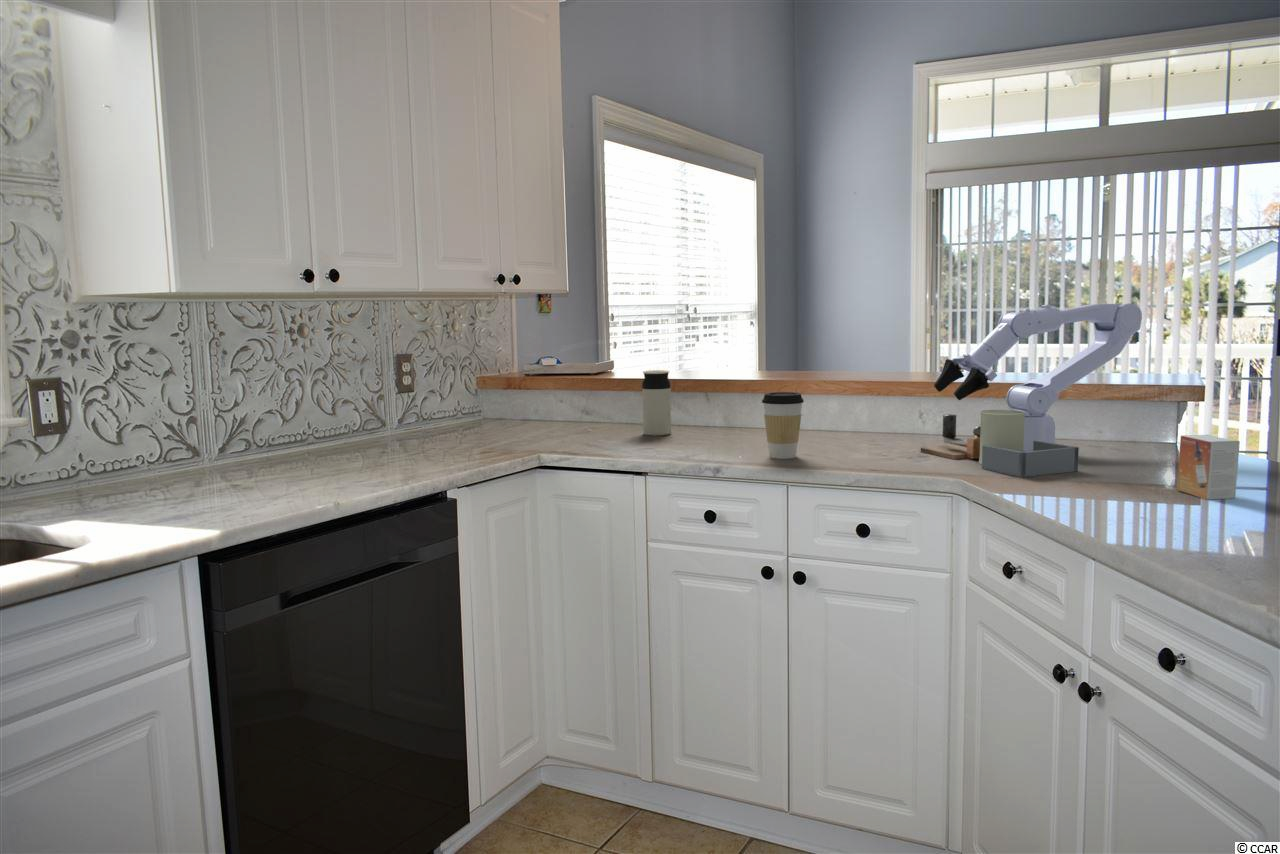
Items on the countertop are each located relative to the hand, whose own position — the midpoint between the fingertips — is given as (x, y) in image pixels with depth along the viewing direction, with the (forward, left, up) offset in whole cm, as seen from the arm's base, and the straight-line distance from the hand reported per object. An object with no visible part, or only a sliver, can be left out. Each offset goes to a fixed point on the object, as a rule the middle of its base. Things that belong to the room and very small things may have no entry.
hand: (946, 392), depth 206 cm
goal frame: (-4, +22, -15) cm, 26 cm away
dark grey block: (-4, +1, -14) cm, 15 cm away
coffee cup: (+33, -17, -15) cm, 40 cm away
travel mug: (+45, -67, -15) cm, 82 cm away
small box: (-13, +55, -15) cm, 58 cm away
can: (-4, +14, -15) cm, 21 cm away
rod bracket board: (-4, -1, -15) cm, 15 cm away
